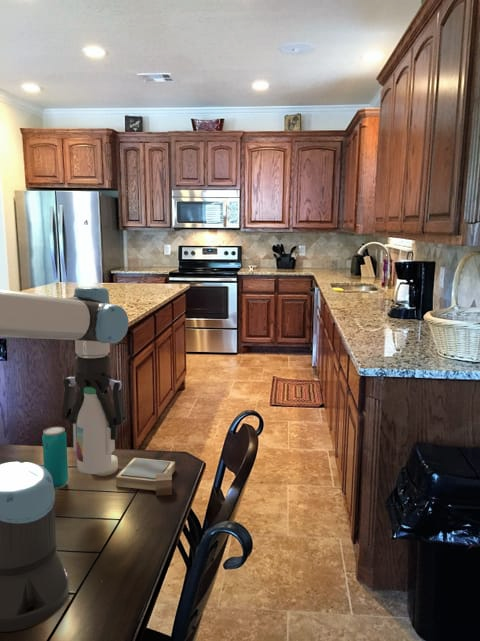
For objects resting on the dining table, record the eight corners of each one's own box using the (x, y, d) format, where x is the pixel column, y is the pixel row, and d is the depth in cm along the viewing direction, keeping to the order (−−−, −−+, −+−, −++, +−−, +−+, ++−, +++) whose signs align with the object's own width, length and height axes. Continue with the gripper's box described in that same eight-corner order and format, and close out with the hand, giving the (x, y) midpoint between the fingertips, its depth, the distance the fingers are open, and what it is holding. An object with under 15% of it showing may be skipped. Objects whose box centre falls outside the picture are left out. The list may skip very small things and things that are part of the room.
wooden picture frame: (160, 490, 126) (160, 480, 126) (116, 486, 128) (115, 475, 128) (175, 470, 138) (175, 460, 137) (134, 466, 140) (134, 456, 140)
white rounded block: (111, 476, 133) (110, 466, 133) (87, 474, 135) (86, 463, 134) (122, 465, 140) (121, 455, 140) (98, 463, 141) (98, 453, 141)
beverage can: (62, 478, 132) (59, 424, 130) (72, 485, 128) (70, 430, 126) (41, 485, 128) (38, 430, 126) (50, 493, 124) (47, 436, 122)
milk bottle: (116, 461, 120) (115, 381, 117) (104, 475, 112) (103, 390, 110) (85, 459, 121) (84, 379, 118) (71, 473, 113) (69, 388, 111)
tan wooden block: (172, 494, 124) (171, 479, 124) (155, 495, 124) (155, 480, 123) (171, 487, 128) (171, 472, 128) (156, 488, 128) (155, 473, 127)
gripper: (141, 354, 115) (141, 448, 118) (60, 348, 119) (62, 440, 122) (128, 360, 107) (128, 461, 110) (42, 354, 111) (45, 452, 114)
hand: (94, 450), depth 116 cm, fingers closed on milk bottle, 8 cm apart
